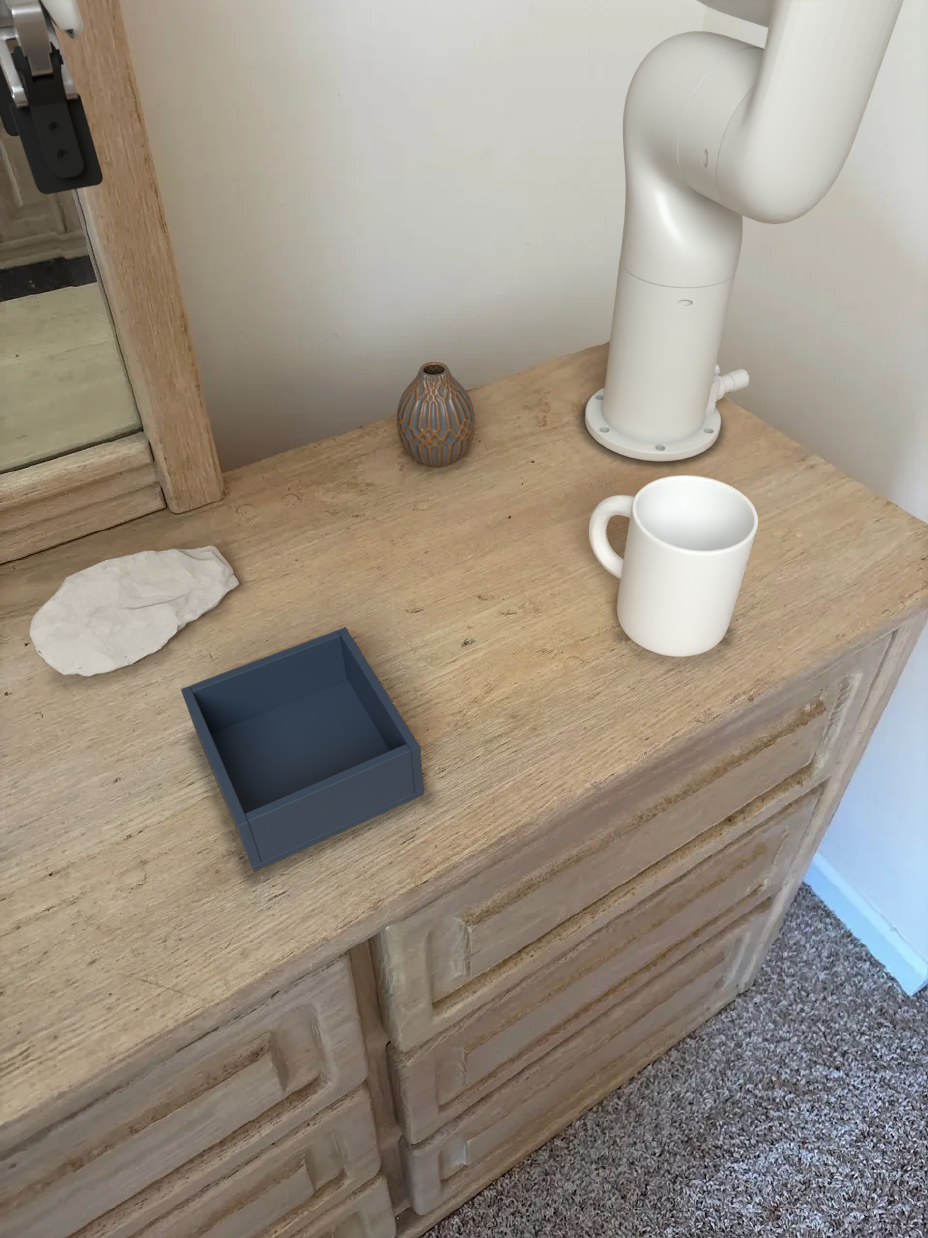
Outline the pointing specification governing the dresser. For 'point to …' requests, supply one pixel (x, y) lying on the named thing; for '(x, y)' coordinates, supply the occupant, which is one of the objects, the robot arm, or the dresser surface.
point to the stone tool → (127, 608)
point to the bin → (304, 745)
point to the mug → (677, 561)
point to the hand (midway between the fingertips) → (52, 157)
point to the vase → (435, 417)
